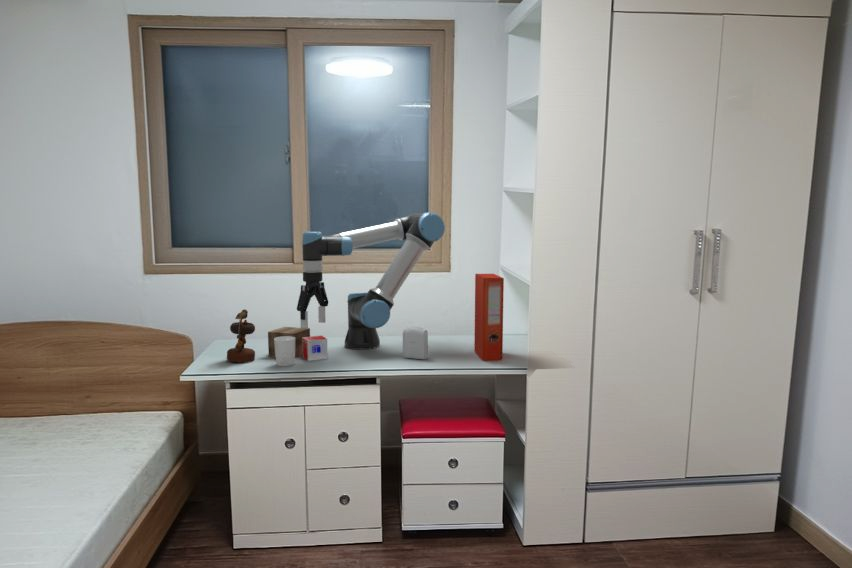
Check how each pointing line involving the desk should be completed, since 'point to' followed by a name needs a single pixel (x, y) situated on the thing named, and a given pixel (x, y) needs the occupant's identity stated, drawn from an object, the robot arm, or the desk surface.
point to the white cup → (285, 350)
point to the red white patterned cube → (314, 348)
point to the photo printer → (415, 343)
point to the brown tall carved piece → (241, 340)
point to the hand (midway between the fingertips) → (313, 325)
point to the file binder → (489, 316)
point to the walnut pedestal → (288, 331)
